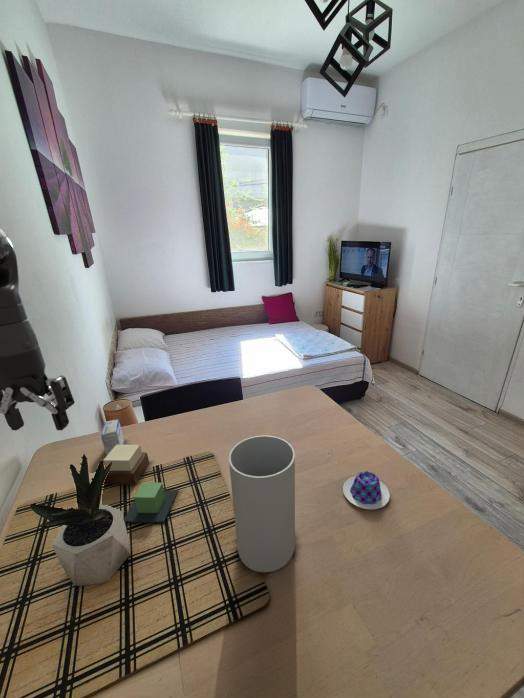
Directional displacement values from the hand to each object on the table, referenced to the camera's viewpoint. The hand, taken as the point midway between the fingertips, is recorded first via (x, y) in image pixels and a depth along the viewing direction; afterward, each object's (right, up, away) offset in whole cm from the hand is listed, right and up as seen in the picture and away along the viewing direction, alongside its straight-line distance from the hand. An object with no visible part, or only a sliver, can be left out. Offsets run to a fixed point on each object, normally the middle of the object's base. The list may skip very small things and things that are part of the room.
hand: (40, 428), depth 61 cm
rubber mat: (+12, -24, +21) cm, 34 cm away
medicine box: (-8, -15, +42) cm, 46 cm away
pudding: (+67, -22, +24) cm, 75 cm away
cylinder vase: (+42, -28, +10) cm, 52 cm away
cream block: (+1, -15, +30) cm, 34 cm away
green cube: (+12, -23, +21) cm, 34 cm away
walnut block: (+1, -19, +32) cm, 37 cm away
